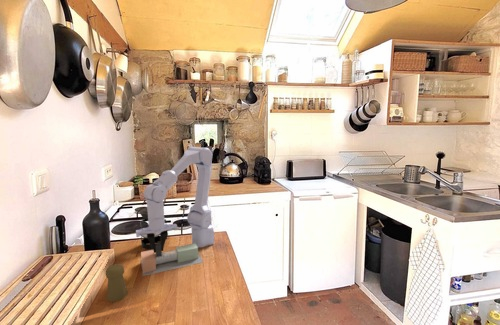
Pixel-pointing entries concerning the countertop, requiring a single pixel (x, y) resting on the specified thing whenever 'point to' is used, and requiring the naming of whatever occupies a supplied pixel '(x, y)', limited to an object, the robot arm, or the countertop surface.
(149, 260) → the socket block
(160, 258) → the sliding bolt
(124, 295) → the olive green pepper mill
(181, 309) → the countertop surface
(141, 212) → the french press
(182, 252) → the outer sleeve
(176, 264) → the base board
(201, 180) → the robot arm
